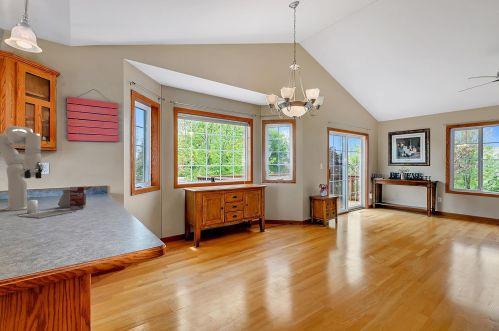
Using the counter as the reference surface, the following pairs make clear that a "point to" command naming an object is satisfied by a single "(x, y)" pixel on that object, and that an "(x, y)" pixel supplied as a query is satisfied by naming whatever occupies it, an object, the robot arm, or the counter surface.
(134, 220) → the counter surface
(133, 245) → the counter surface
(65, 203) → the coffee pot
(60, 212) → the throwing mat
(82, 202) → the supplement box
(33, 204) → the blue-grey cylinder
